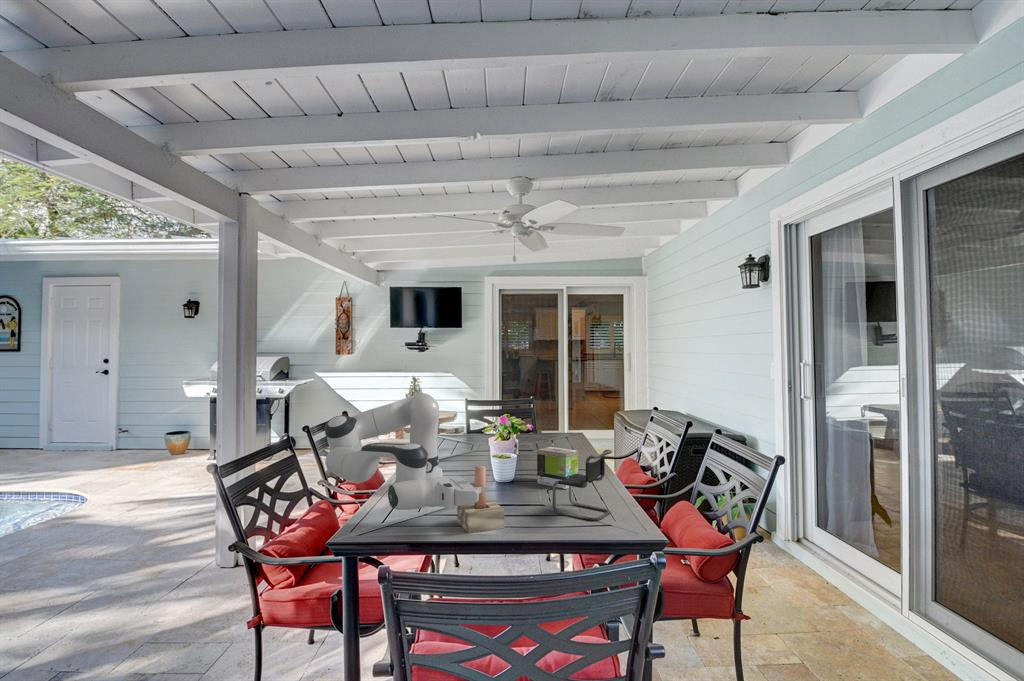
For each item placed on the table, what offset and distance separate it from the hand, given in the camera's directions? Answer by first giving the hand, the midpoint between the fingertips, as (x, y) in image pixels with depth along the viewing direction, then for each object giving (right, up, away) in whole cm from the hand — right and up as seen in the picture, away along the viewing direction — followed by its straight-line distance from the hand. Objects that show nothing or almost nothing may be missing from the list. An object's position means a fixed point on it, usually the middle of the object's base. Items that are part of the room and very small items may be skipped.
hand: (482, 486), depth 169 cm
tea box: (+29, -13, +50) cm, 59 cm away
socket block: (-1, -12, 0) cm, 12 cm away
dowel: (-1, -8, -1) cm, 9 cm away
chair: (+34, -13, +12) cm, 38 cm away
